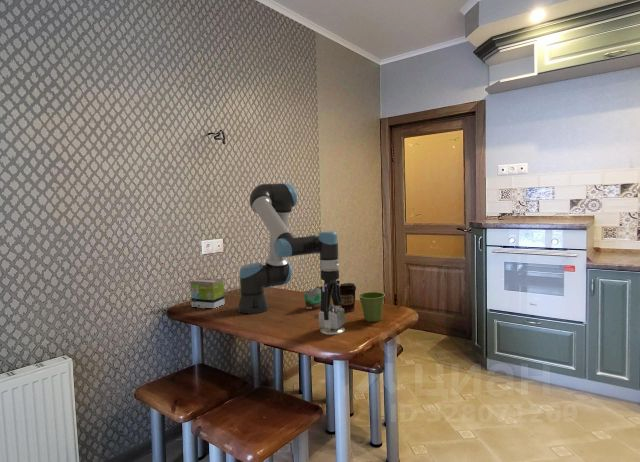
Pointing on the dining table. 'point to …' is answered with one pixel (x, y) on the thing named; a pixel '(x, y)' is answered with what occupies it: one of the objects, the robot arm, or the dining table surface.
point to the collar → (333, 318)
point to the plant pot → (372, 305)
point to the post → (332, 330)
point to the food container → (313, 298)
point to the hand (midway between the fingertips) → (332, 324)
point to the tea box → (207, 293)
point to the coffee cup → (347, 296)
